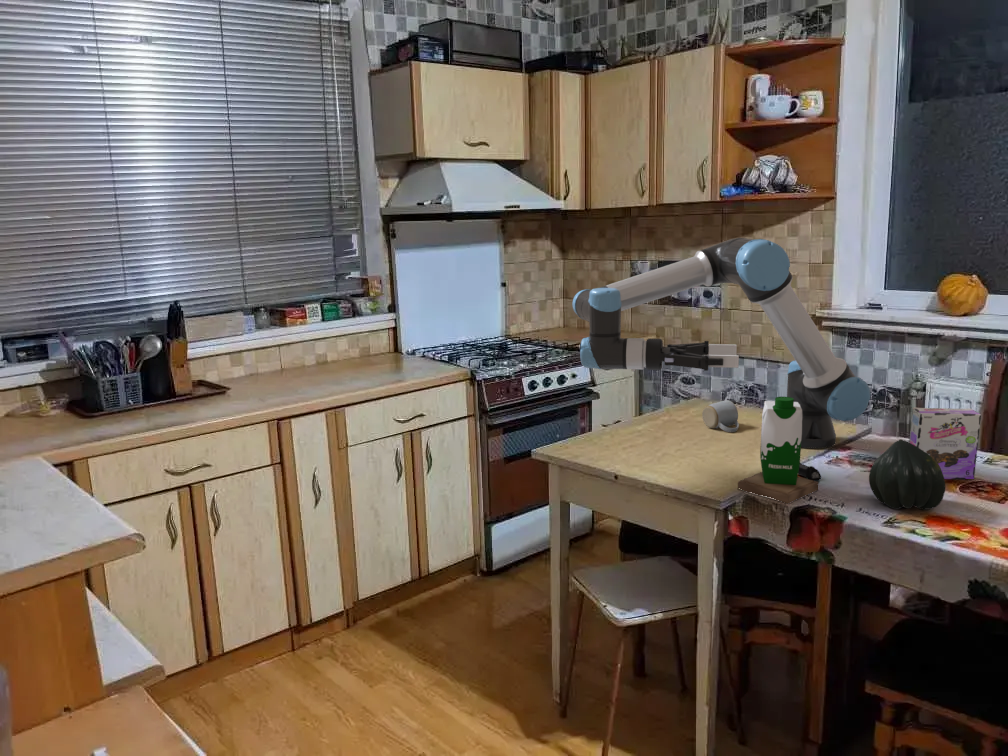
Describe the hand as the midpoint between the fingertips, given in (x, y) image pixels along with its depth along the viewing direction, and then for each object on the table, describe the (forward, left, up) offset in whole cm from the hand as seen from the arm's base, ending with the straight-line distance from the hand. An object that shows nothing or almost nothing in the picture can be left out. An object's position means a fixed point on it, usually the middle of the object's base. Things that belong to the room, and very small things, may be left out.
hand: (737, 355), depth 194 cm
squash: (-14, +35, -31) cm, 49 cm away
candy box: (-39, +32, -31) cm, 59 cm away
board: (-2, +11, -31) cm, 33 cm away
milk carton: (-3, +10, -29) cm, 31 cm away
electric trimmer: (-17, +6, -31) cm, 36 cm away
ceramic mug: (-37, -29, -31) cm, 56 cm away
